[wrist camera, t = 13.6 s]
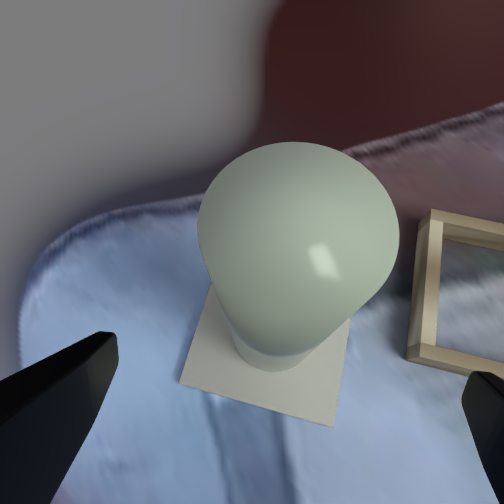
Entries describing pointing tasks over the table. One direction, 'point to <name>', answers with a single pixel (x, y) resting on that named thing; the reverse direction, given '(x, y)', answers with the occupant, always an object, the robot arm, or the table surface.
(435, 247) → the birch collar
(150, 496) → the table surface
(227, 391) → the cream square tile
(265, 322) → the ceramic canister
